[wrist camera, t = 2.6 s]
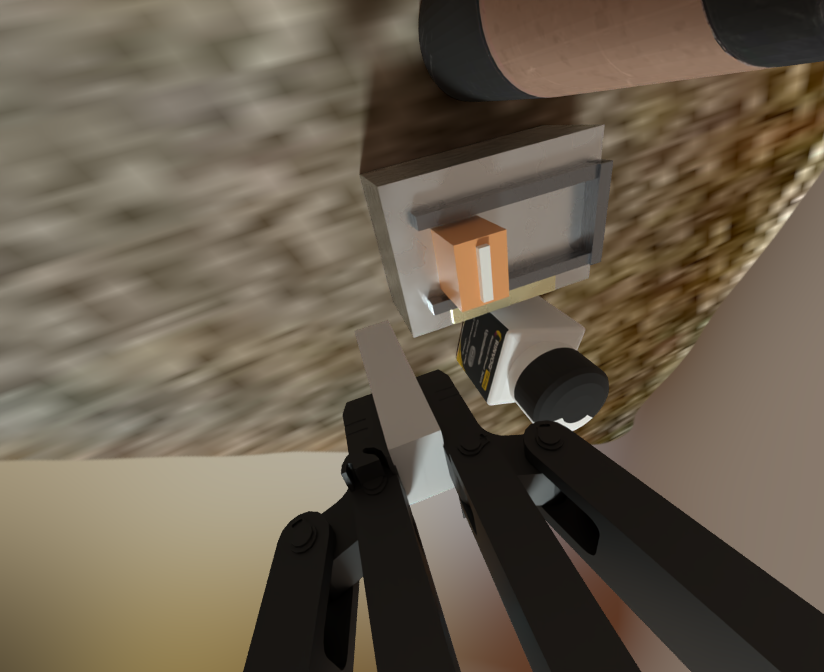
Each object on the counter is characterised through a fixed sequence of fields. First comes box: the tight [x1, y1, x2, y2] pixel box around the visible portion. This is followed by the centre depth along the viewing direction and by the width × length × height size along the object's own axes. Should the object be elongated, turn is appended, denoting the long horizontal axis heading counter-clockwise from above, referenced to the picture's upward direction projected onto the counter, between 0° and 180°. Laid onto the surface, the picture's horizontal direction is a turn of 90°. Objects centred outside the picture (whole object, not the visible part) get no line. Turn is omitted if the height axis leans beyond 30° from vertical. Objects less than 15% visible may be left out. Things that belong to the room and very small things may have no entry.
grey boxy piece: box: [360, 125, 613, 337], centre depth 24 cm, size 10×14×7 cm
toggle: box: [431, 215, 509, 312], centre depth 20 cm, size 4×3×4 cm
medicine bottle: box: [456, 296, 609, 431], centre depth 28 cm, size 7×7×12 cm
